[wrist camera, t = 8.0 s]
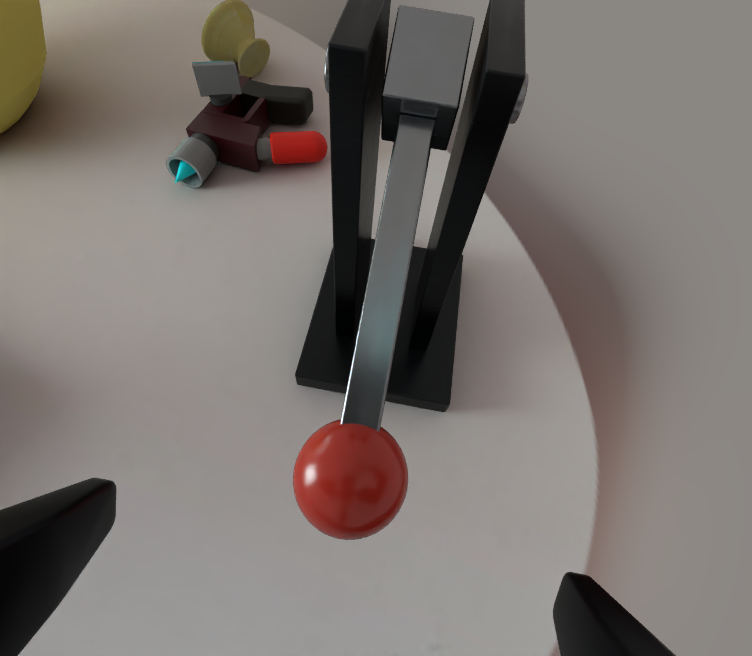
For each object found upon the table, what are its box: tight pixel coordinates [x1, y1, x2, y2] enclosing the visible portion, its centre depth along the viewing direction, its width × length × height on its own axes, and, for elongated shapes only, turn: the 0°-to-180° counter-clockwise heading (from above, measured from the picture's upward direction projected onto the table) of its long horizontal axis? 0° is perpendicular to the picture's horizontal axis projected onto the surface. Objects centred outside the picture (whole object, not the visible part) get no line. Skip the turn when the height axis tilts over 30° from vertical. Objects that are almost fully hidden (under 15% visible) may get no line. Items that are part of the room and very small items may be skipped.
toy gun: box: [166, 61, 327, 188], centre depth 30 cm, size 10×12×5 cm
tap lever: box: [293, 5, 474, 540], centre depth 13 cm, size 15×3×3 cm, turn 170°
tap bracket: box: [295, 0, 528, 412], centre depth 19 cm, size 10×8×16 cm
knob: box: [202, 0, 270, 77], centre depth 35 cm, size 5×5×5 cm
